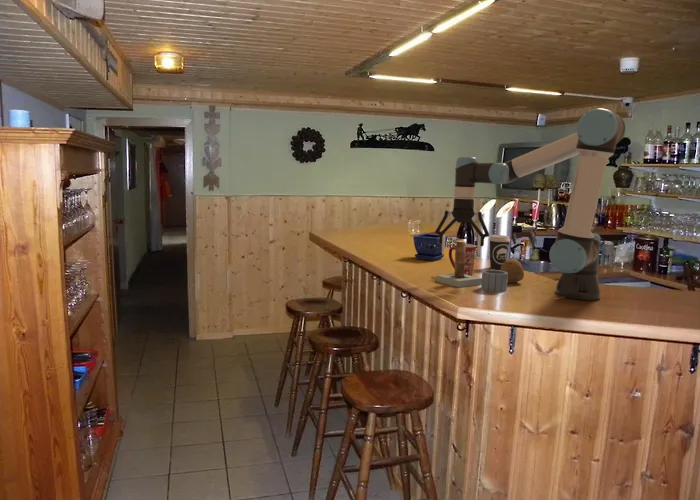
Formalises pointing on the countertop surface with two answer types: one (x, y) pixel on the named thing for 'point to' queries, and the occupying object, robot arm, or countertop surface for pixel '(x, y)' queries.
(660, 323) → the countertop surface
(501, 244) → the coffee cup
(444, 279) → the socket block
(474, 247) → the mug
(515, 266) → the brown rounded lump
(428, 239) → the flower pot
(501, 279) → the cup
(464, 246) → the brown wooden bar
